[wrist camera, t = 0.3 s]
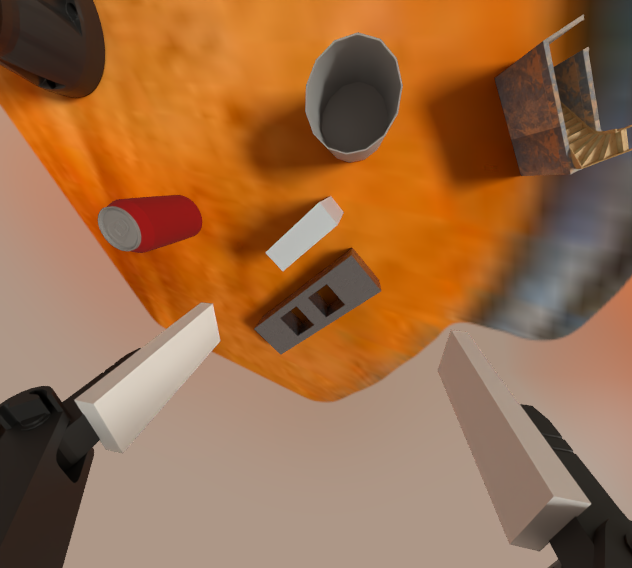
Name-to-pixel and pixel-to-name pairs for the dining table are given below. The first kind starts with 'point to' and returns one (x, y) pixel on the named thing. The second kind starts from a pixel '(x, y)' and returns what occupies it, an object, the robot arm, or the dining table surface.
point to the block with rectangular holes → (319, 302)
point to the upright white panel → (306, 233)
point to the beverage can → (149, 222)
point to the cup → (353, 96)
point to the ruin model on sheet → (555, 113)
